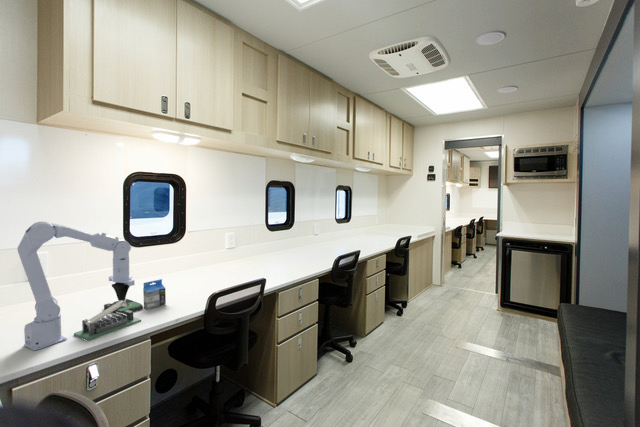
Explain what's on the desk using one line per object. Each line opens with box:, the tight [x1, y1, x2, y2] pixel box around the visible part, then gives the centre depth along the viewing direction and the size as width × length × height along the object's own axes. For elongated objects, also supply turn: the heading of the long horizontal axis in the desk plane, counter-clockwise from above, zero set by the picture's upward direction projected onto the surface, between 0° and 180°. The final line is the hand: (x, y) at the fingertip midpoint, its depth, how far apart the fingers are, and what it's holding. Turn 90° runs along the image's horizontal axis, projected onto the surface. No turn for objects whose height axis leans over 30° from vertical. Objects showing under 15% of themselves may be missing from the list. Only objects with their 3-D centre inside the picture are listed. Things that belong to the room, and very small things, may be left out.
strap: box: [84, 300, 127, 325], centre depth 120 cm, size 15×3×2 cm, turn 154°
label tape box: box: [142, 278, 167, 310], centre depth 145 cm, size 9×4×12 cm, turn 143°
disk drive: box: [103, 298, 144, 314], centre depth 141 cm, size 10×3×15 cm
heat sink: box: [81, 312, 127, 336], centre depth 119 cm, size 13×7×5 cm, turn 154°
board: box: [73, 310, 142, 342], centre depth 121 cm, size 20×10×4 cm, turn 154°
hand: (121, 299), depth 125 cm, fingers closed
